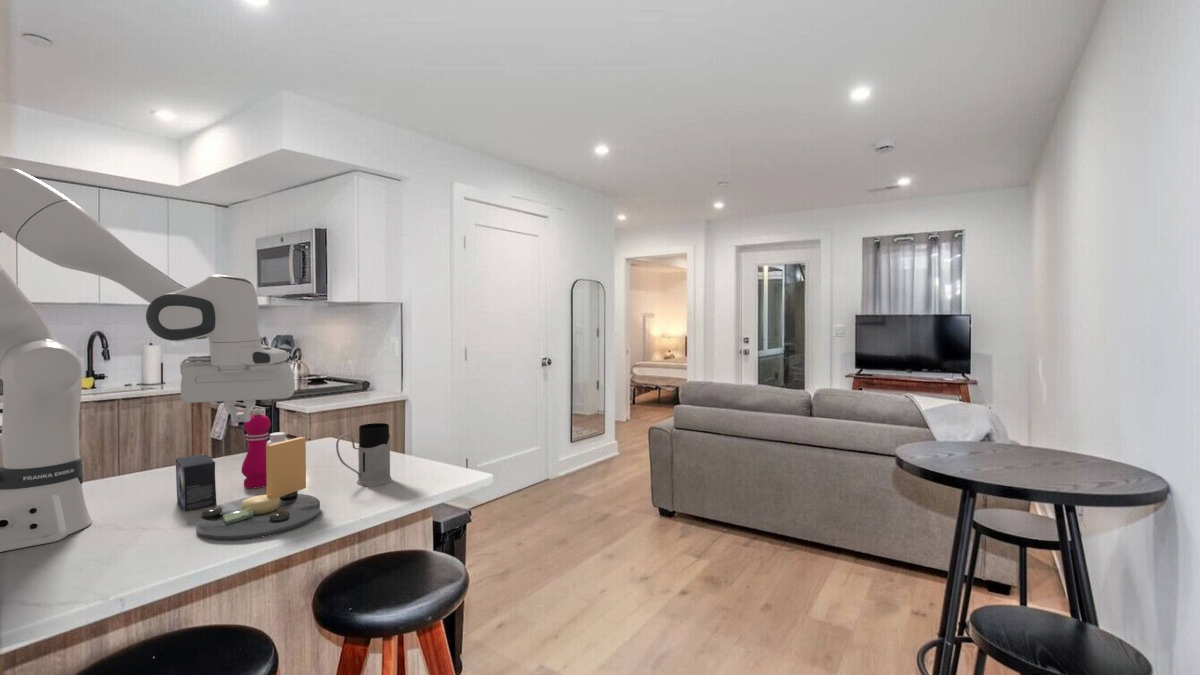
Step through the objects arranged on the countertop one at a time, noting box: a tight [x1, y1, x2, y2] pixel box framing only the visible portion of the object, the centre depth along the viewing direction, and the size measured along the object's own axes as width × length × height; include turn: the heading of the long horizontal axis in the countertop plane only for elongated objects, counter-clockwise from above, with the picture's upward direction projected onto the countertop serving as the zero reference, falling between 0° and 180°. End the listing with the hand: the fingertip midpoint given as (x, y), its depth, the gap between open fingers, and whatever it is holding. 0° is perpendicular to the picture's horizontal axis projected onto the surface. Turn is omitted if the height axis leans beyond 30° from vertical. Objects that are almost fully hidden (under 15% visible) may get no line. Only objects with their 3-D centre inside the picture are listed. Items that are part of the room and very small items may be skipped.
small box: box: [175, 453, 218, 513], centre depth 132 cm, size 11×6×10 cm, turn 45°
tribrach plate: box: [195, 491, 321, 541], centre depth 122 cm, size 23×23×4 cm
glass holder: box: [335, 422, 393, 487], centre depth 148 cm, size 9×14×15 cm, turn 136°
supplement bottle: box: [267, 431, 289, 445], centre depth 161 cm, size 6×6×10 cm
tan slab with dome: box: [242, 436, 307, 515], centre depth 125 cm, size 14×7×14 cm, turn 159°
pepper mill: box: [241, 408, 272, 489], centre depth 146 cm, size 7×7×20 cm
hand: (241, 421), depth 115 cm, fingers closed
